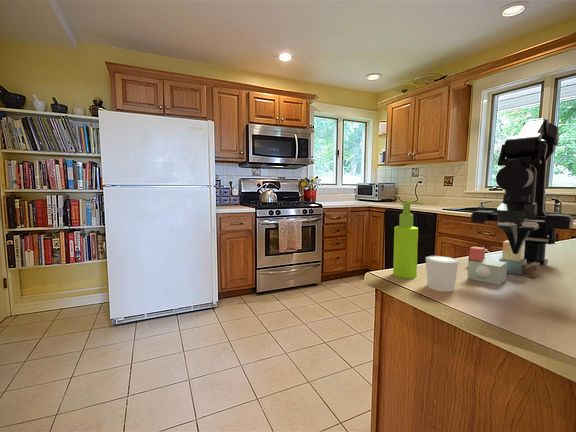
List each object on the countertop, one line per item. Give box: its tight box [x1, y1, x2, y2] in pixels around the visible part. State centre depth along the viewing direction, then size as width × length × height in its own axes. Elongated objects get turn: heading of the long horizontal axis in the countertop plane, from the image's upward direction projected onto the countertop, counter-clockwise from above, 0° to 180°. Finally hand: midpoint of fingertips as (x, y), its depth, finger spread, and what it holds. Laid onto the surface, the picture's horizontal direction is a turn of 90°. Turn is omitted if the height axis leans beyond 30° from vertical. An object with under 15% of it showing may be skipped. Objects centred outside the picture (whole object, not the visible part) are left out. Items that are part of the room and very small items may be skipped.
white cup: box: [425, 255, 459, 293], centre depth 68 cm, size 7×7×7 cm
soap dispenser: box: [392, 201, 424, 279], centre depth 77 cm, size 6×7×20 cm
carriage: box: [498, 239, 528, 275], centre depth 79 cm, size 5×5×8 cm
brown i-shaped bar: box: [467, 254, 541, 279], centre depth 81 cm, size 15×5×3 cm, turn 40°
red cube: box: [469, 246, 486, 261], centre depth 75 cm, size 3×3×3 cm
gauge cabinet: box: [467, 258, 508, 286], centre depth 74 cm, size 6×7×4 cm
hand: (515, 253), depth 71 cm, fingers closed
